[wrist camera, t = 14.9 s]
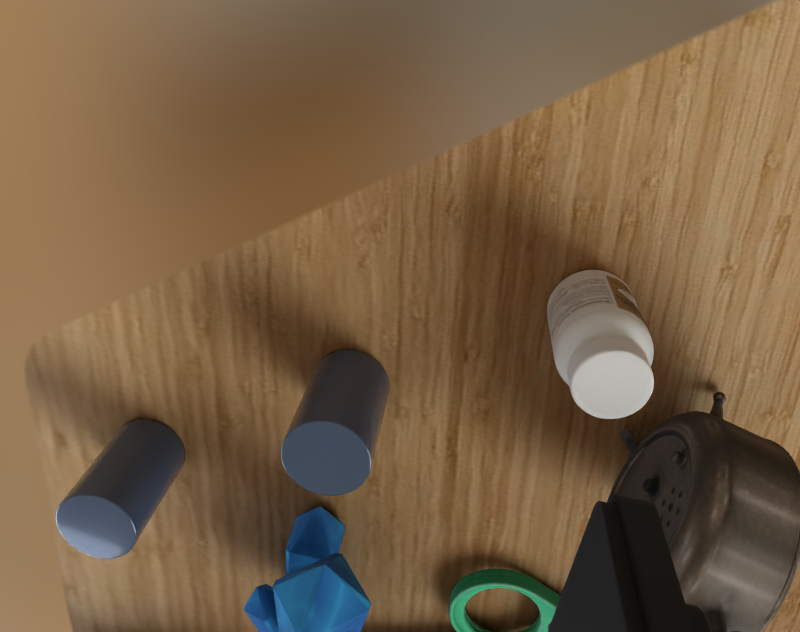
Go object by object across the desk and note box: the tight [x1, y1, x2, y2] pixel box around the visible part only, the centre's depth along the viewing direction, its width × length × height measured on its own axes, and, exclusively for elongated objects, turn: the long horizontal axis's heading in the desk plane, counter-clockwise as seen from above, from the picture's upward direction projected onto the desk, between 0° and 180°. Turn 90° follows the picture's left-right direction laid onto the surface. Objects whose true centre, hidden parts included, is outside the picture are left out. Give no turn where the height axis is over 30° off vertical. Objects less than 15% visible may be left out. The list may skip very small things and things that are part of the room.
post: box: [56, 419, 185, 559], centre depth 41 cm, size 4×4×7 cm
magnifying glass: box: [449, 569, 561, 632], centre depth 46 cm, size 15×6×2 cm, turn 82°
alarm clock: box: [607, 392, 800, 632], centre depth 33 cm, size 11×5×16 cm, turn 157°
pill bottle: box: [547, 270, 654, 419], centre depth 34 cm, size 4×4×8 cm
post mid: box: [281, 350, 390, 496], centre depth 38 cm, size 4×4×7 cm
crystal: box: [244, 506, 371, 632], centre depth 43 cm, size 7×9×12 cm
